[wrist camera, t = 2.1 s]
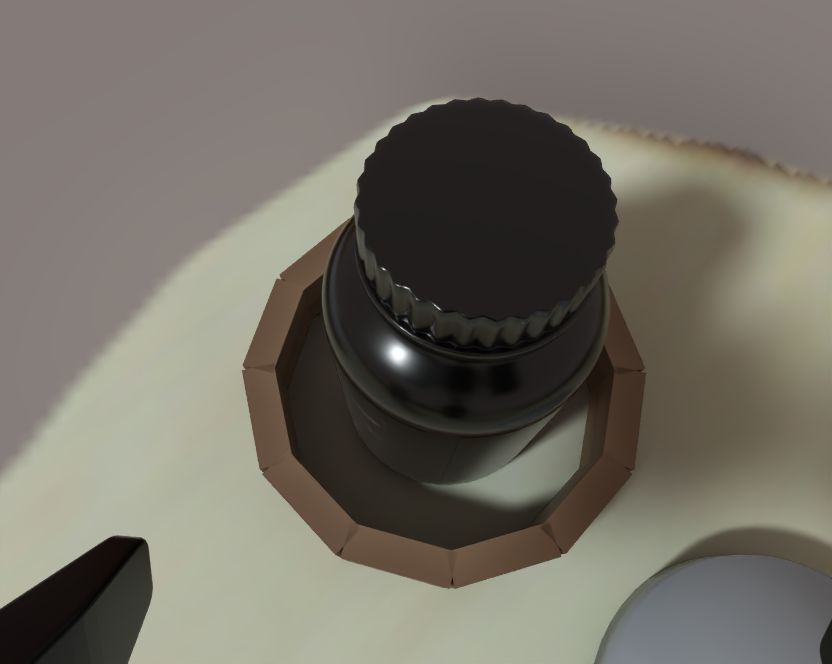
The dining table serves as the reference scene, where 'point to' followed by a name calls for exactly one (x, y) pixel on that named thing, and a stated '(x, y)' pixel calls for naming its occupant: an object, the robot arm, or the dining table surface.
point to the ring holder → (542, 541)
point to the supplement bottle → (469, 286)
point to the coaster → (723, 614)
